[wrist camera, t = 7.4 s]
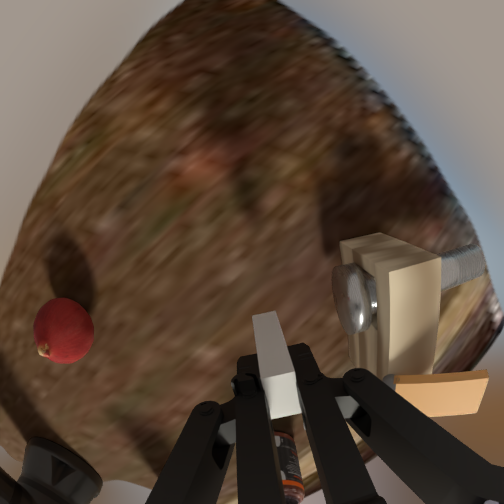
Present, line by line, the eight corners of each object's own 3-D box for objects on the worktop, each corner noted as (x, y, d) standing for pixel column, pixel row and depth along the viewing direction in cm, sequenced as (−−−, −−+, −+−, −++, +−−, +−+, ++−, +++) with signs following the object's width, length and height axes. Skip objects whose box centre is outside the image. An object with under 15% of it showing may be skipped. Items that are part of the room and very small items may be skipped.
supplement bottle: (259, 423, 28) (266, 506, 17) (303, 434, 29) (322, 509, 18) (236, 450, 29) (237, 525, 18) (278, 460, 30) (289, 529, 19)
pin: (335, 316, 23) (356, 347, 18) (328, 258, 21) (352, 279, 17) (457, 278, 23) (490, 296, 18) (457, 227, 21) (493, 238, 17)
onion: (81, 346, 25) (45, 390, 17) (50, 301, 24) (5, 335, 16) (117, 326, 25) (81, 373, 17) (83, 276, 24) (34, 309, 16)
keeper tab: (380, 407, 18) (378, 418, 17) (383, 373, 17) (381, 385, 16) (475, 403, 14) (476, 414, 13) (486, 368, 13) (489, 379, 12)
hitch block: (349, 357, 27) (383, 416, 18) (339, 241, 24) (389, 272, 15) (384, 346, 27) (426, 398, 18) (380, 232, 24) (441, 257, 15)
